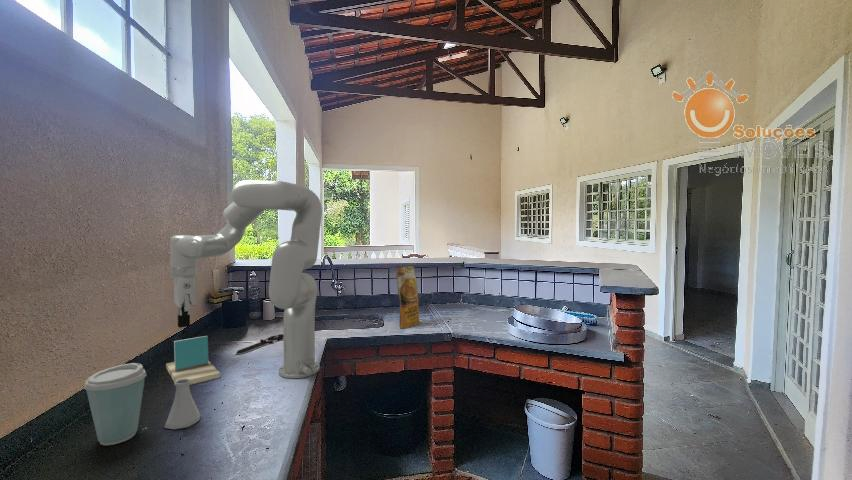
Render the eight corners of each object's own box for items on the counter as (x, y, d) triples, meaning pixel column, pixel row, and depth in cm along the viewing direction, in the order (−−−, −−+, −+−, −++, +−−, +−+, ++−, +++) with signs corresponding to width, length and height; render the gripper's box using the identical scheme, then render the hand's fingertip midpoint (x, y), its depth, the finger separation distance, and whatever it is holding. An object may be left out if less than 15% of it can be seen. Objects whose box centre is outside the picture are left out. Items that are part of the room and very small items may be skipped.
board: (219, 377, 116) (219, 372, 116) (177, 387, 108) (177, 382, 108) (204, 360, 130) (204, 355, 130) (166, 368, 123) (166, 363, 123)
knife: (237, 357, 135) (237, 353, 135) (225, 354, 137) (225, 350, 137) (290, 338, 157) (290, 335, 157) (279, 336, 160) (279, 333, 160)
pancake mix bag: (390, 328, 173) (391, 267, 172) (412, 319, 189) (413, 264, 188) (403, 330, 169) (403, 268, 168) (424, 321, 186) (424, 265, 185)
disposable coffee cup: (96, 458, 76) (94, 384, 75) (77, 441, 81) (75, 372, 81) (156, 433, 85) (155, 367, 84) (135, 420, 90) (134, 358, 90)
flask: (175, 415, 93) (175, 375, 92) (206, 414, 93) (206, 374, 93) (157, 431, 86) (156, 387, 85) (190, 430, 86) (190, 387, 86)
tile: (207, 363, 123) (208, 364, 122) (174, 370, 117) (175, 371, 116) (206, 335, 123) (207, 336, 122) (173, 341, 117) (174, 341, 116)
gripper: (202, 273, 122) (201, 329, 123) (192, 269, 134) (191, 320, 134) (174, 275, 117) (174, 333, 118) (166, 270, 128) (166, 323, 129)
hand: (183, 326), depth 126 cm, fingers closed
